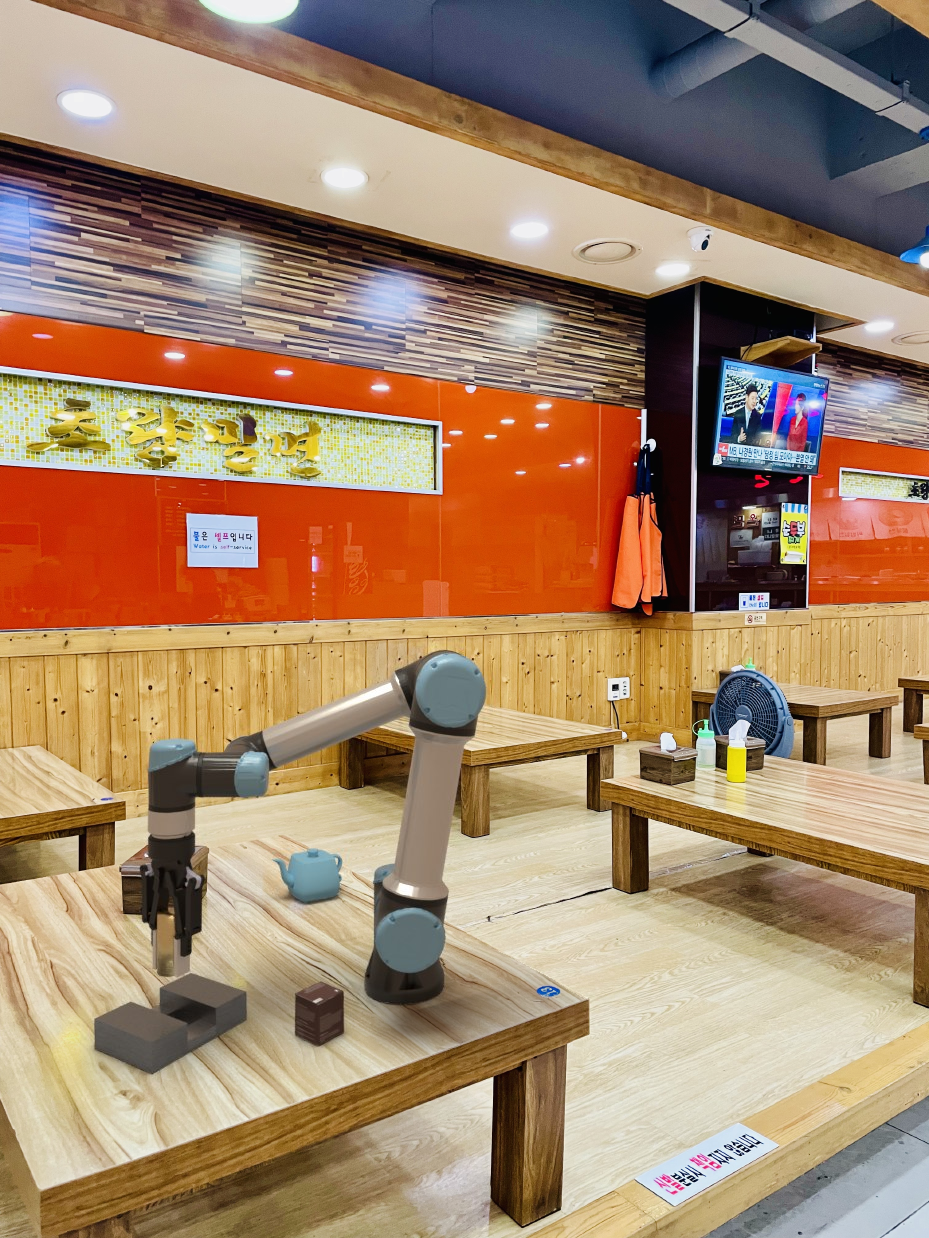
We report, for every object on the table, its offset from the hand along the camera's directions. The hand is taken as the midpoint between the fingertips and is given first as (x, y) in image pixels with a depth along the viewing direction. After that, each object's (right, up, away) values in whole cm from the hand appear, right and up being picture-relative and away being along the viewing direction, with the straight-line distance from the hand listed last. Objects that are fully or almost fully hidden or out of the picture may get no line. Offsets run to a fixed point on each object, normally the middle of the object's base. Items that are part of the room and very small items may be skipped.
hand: (171, 969), depth 146 cm
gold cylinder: (0, 0, 0) cm, 0 cm away
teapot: (+11, -9, +66) cm, 68 cm away
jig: (0, -11, 0) cm, 11 cm away
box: (+25, -11, +1) cm, 27 cm away
